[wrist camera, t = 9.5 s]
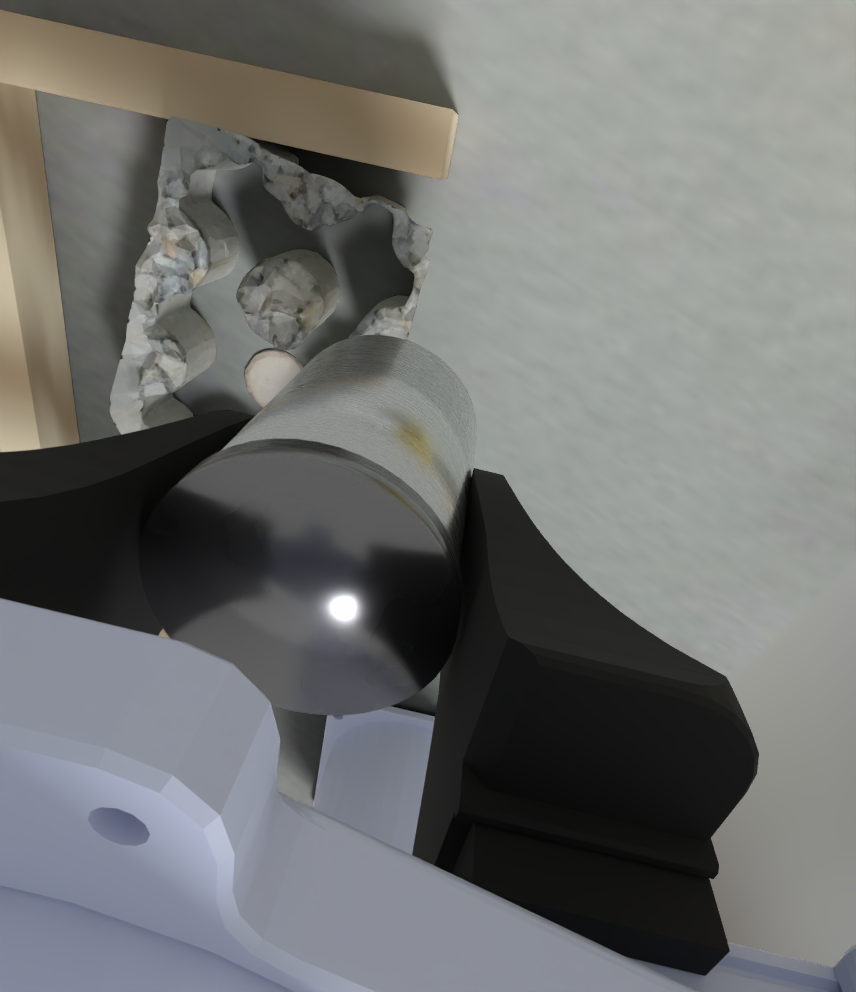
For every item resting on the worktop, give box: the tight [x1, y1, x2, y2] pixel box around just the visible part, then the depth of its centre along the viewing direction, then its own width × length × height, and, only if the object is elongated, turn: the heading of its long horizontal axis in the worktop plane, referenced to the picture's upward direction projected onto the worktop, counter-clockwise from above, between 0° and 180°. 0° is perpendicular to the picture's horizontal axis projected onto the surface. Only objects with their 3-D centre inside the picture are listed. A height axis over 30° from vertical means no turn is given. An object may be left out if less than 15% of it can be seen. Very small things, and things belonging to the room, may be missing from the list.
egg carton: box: [110, 116, 432, 435], centre depth 18 cm, size 11×8×4 cm
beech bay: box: [0, 10, 459, 639], centre depth 20 cm, size 20×14×2 cm
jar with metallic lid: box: [139, 335, 477, 715], centre depth 11 cm, size 5×5×6 cm
